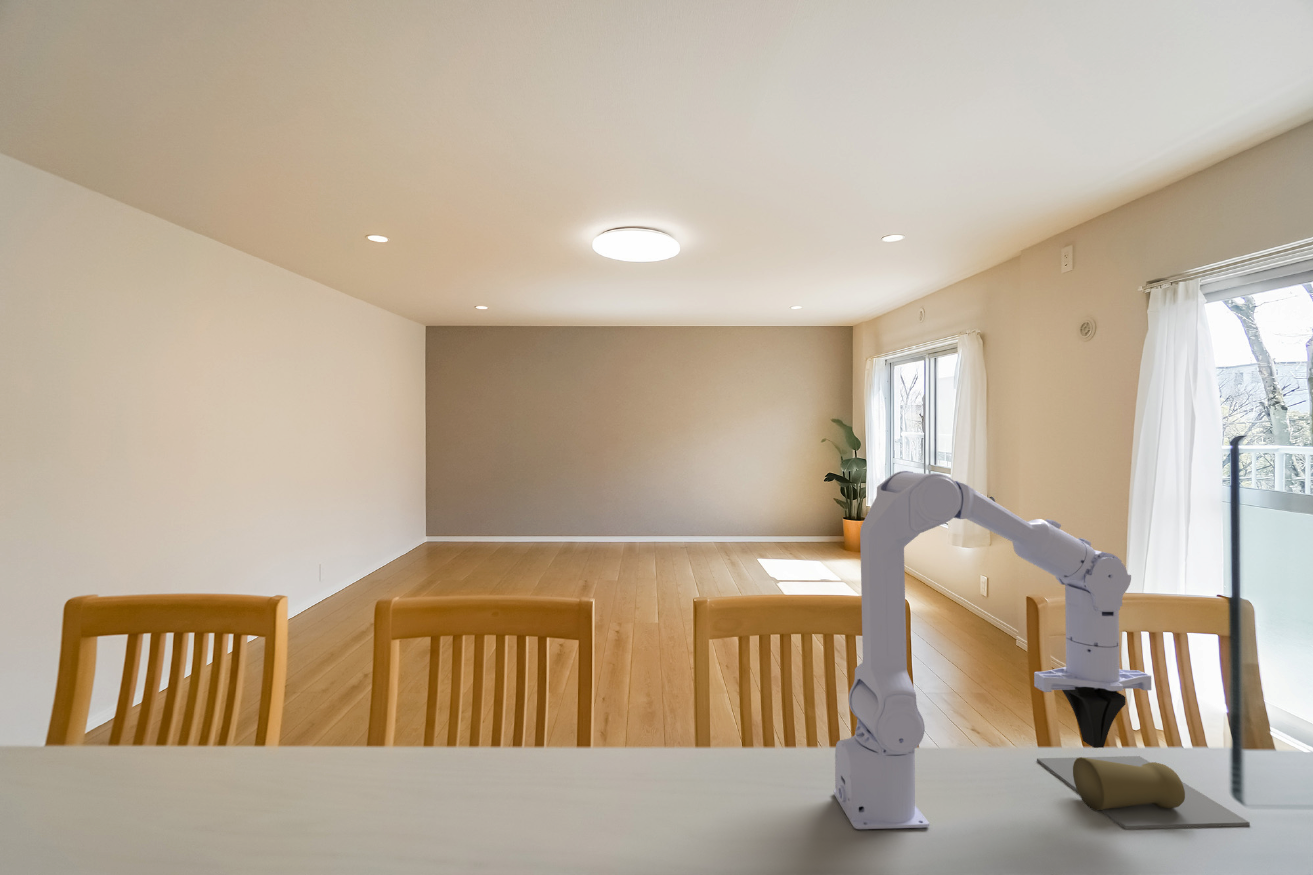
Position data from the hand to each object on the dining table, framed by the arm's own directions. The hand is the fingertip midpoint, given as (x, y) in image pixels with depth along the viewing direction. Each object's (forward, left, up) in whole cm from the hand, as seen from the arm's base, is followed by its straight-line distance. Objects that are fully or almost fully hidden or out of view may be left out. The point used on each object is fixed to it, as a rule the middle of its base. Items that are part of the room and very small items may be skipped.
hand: (1093, 744), depth 78 cm
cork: (-1, 0, -5) cm, 5 cm away
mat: (+8, +3, -8) cm, 12 cm away
